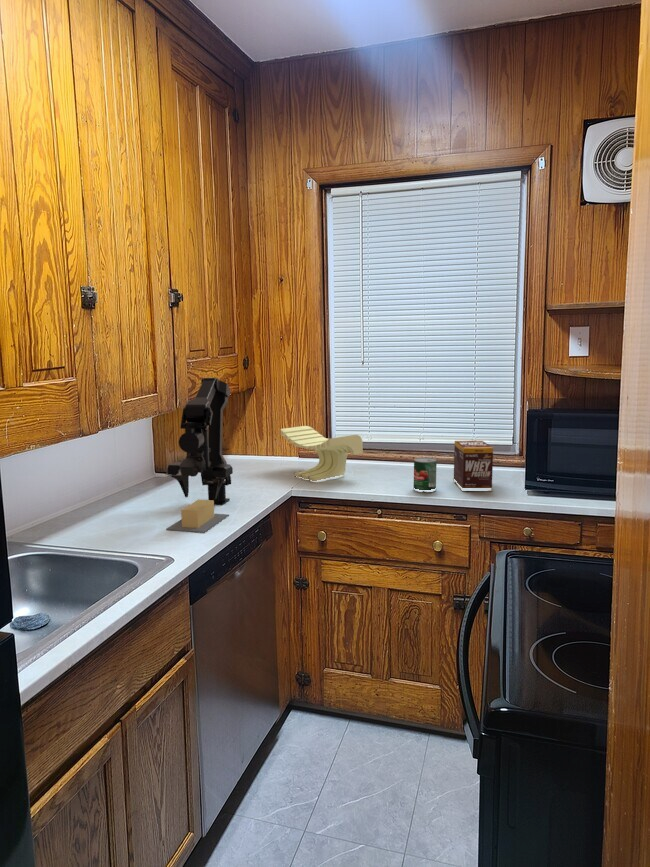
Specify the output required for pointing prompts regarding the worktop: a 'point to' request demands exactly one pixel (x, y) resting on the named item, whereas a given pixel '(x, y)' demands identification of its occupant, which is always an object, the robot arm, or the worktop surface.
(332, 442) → the slatted curved stool
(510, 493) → the worktop surface
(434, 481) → the canned tomato
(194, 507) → the ochre block
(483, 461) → the supplement box
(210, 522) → the slate mat
